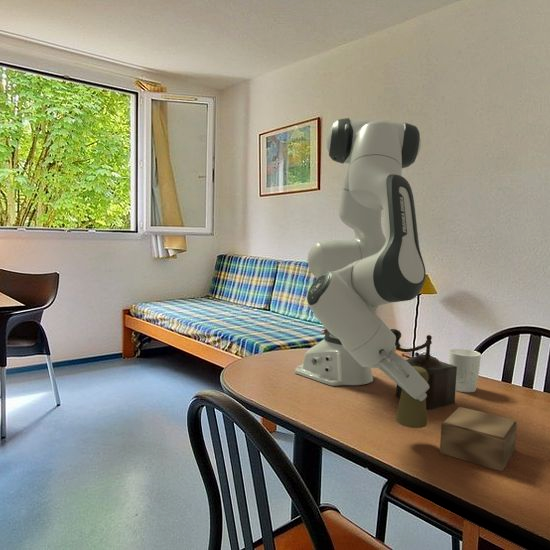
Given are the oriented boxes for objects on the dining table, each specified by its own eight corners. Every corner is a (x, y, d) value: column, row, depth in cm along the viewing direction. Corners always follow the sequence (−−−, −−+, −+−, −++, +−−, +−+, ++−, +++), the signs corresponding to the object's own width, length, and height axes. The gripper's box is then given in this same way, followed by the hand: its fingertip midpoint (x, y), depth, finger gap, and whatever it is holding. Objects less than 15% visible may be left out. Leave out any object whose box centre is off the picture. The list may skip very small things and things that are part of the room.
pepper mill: (420, 389, 126) (424, 323, 125) (456, 403, 117) (460, 331, 115) (378, 399, 118) (381, 328, 117) (412, 414, 109) (416, 337, 107)
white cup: (459, 382, 134) (461, 347, 133) (484, 390, 127) (487, 354, 126) (441, 386, 130) (443, 350, 129) (466, 395, 123) (469, 357, 122)
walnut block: (439, 452, 90) (441, 422, 90) (456, 433, 99) (458, 405, 98) (502, 471, 84) (504, 438, 83) (514, 449, 92) (517, 419, 92)
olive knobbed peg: (431, 428, 91) (436, 372, 90) (401, 427, 91) (405, 372, 90) (420, 415, 97) (424, 363, 96) (391, 414, 97) (395, 362, 96)
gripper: (406, 347, 81) (455, 401, 83) (366, 321, 101) (406, 365, 103) (380, 373, 81) (429, 426, 83) (344, 341, 101) (385, 385, 103)
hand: (416, 392), depth 93 cm, fingers closed on olive knobbed peg, 4 cm apart
